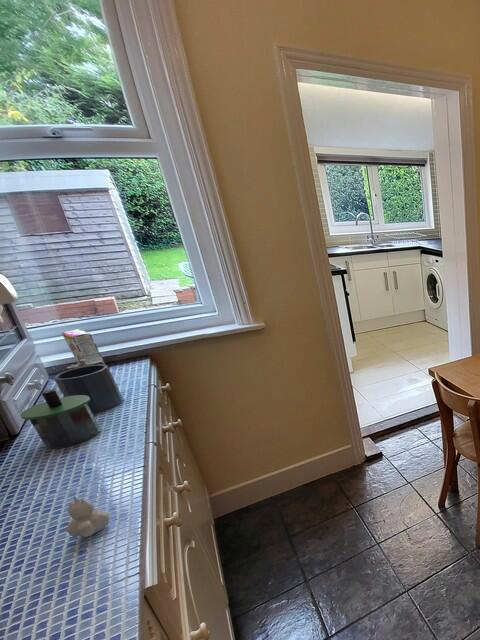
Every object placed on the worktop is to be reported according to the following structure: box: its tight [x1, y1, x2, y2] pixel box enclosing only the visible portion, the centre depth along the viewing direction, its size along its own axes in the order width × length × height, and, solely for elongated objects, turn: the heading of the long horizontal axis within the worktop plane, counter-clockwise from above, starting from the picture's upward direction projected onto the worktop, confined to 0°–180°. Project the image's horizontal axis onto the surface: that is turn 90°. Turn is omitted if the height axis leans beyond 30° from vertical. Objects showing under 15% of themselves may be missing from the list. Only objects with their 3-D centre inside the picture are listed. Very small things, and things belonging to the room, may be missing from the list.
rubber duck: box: [66, 495, 110, 538], centre depth 73 cm, size 5×7×8 cm
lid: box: [20, 389, 90, 421], centre depth 103 cm, size 12×12×5 cm
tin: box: [53, 365, 124, 415], centre depth 123 cm, size 11×11×12 cm
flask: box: [65, 359, 106, 371], centre depth 136 cm, size 9×3×11 cm, turn 133°
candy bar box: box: [61, 328, 107, 366], centre depth 147 cm, size 11×5×16 cm, turn 59°
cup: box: [29, 404, 101, 450], centre depth 106 cm, size 10×10×9 cm
